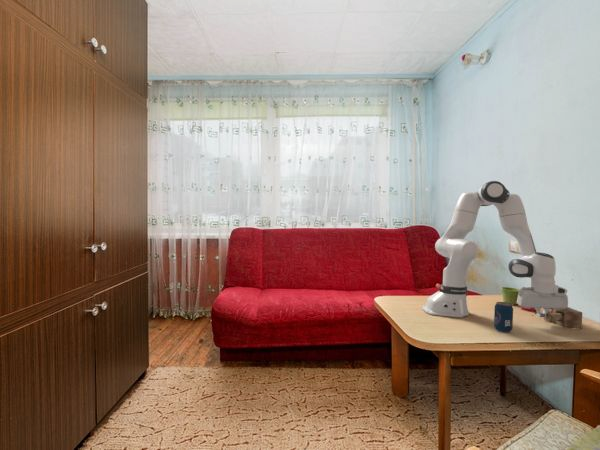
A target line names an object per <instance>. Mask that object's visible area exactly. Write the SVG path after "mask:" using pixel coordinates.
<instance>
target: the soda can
mask: <svg viewBox="0 0 600 450" xmlns="http://www.w3.org/2000/svg"><path fill="white" fill-rule="evenodd" d="M493 314H494V315H493V318H494V319H493V326H494V329H495V330H496V331H498V332H501V333H511V332H512V331H513V327H514V323H513V321H514V308H513V306H512V304H510V303H506V302H503V301H496V303H495V305H494V313H493Z"/></svg>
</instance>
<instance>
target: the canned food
mask: <svg viewBox="0 0 600 450" xmlns="http://www.w3.org/2000/svg"><path fill="white" fill-rule="evenodd" d="M519 307H520V309H521V310H522V311H525V312H529V313H537V312H536V310H535V308H529V307H521V306H519Z"/></svg>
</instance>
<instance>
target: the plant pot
mask: <svg viewBox="0 0 600 450" xmlns="http://www.w3.org/2000/svg"><path fill="white" fill-rule="evenodd" d="M519 289H520V288H515V287H509V286H500V290H501V293H502V300H503V301H502V302H506V303H510V304H512V305H513V306H515V305H517V304H518V303H517V302H518V296H519Z"/></svg>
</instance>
